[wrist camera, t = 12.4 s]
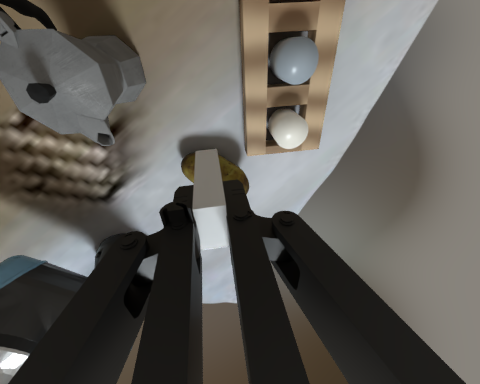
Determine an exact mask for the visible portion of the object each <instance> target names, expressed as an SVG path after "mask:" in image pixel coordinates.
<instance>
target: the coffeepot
mask: <svg viewBox="0 0 480 384" xmlns="http://www.w3.org/2000/svg"><path fill="white" fill-rule="evenodd" d="M0 4H3V5H6V6H8V7H11V8H13V9H14V10H16V11H17V12H19V13H20V14H23V15H25V16H29V17H35V18H36V19H37V20H38V21H40V22H41V23H42V24H43V25H44V26H45V27H46V28H47V29H27V30H21V28H20V27H19V26H18V25H17V24H16V23H15V22H14V21H13V19H12V18H11V17H10V16H9V15H8V14H7V13H6V12H5V11H4V10H3V9H2V8H1V7H0V41H1V44H0V80H1V82H2V83H3V85H4V86H5V88H6V90H7V91H8V93H9V95H10V96H11V98H12V99H13V101H14V103H15V104H16V106H17V108H18V109H19V111H21V112H23V113H24V114H26V115H28V116H30V117H31V118H33V119H35V120H37V121H39V122H40V123H42V124H44V125H46V126H47V127H49V128H51V129H53V130H54V131H56V132H58V133H60V134H73V133H82V134H83V135H85V136H87V137H88V138H90V139H91V140H93V141H95V142H96V143H97V142H98V143H99V144H101V145H103V146H110V145H112V144H114V143H115V141H114V137H113V135H112V133H111V131H110V126H109V120H108V115H109V114H110V112H111V111H112V109H113V107H114V106H115V104H119V103H125V102H131V101H135V100H136V98H137V97H138V95H139V94H140V92H141V90H142V89H143V87H144V86H145V84H146V81H145V77H144V71H143V68H142V65H141V61H140V57H139V56H138V55H137V54H136V53H135V52H134V51H133V50H132V49H131V48H130V47H128V46H127V45H126V44H125V43H123V42H122V41H121V40H120V39H119V38H117V37H116V36H115V35H113V36H88V37H86V38H84V39H82V40H80V39H78V38H75V37H72V36H70V35H67V34H64V33H62V32H59V31H57V29H56V27H55V26H54V24H53V23H52V21H51V20H50V18H49V16H48V15H47V14H46V13H45V12H44V11H43V10H42V9H41V8H39V7H37V6H36V5H34V4H32V3H31V2H29V1H28V0H0Z"/></svg>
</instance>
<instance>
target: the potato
mask: <svg viewBox="0 0 480 384" xmlns="http://www.w3.org/2000/svg"><path fill="white" fill-rule="evenodd" d="M218 158H219V164H220V171H221V177H222V181H228V180H237V179H238V180H239V181H240V182H242V183H243V186H244V189H245V193H246V194H247V192H248V190H249V182H248V179H247V177H246V175H245V173H244V172H243V171H242V170H241V169H240V167H238V166H236V165H235V164H233V163H232V162H230V161H228V160H226V159H225V158H224V157H222V156H220V155H218ZM181 168H182V172H183V173H184V175H185V176H186V177H187V178H188V179H189V180H190V181H192V182H193V183H194V171H195V153H191V154H188V155H186V156H185V157H184V159H183V160H182V163H181Z"/></svg>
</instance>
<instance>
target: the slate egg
mask: <svg viewBox="0 0 480 384" xmlns="http://www.w3.org/2000/svg"><path fill="white" fill-rule="evenodd" d="M318 58H319V54H318V49H317V46H316V44H315V43H314V42H313V41H312V40H311V39H310V38H307V37H289V38H284V39H282V40H280V41H279V42H278V43H277V44H276V45H275V46H274V48H273V50H272V52H271V55H270V68H271V71H272V73H273V74H274V75H275V76H276V77H277V78H279V79H281V80H283V81H285V82H287V83H289V84H293V85H298V84H302V83H304V82H305V81H307V80H308V79H309V78H310V77H311V76H312V75H313V73H314V72H315V70H316V67H317V64H318Z"/></svg>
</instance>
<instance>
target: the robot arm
mask: <svg viewBox="0 0 480 384" xmlns="http://www.w3.org/2000/svg"><path fill="white" fill-rule="evenodd" d="M159 213H160V216H161V219H162V222H163V225H164V228H163V229H162V230H160V231H159V232H156V233H154V234H151V235H149V236H145V234H143V233H142V232H138V231H136V232H130V233H127V234H120V235H115V236H112V237H109V238H107V239H106V240H104V241H103V242H102V243H101V245H100V247H99V249H98V250H97V253H96V256H95V268H94V270H93V271H92V273H91V274H90V275H89V277H86V276H83V275H80V274H77V273H75V272H72V271H69V270H67V269H64V268H61V267H58V266H56V265H53V264H50V263H48V261H41V260H37V259H34V258H31V257H28V256H24V255H17V256H12V257H10V258H7V259H6V260H4V261H3V262H1V263H0V384H116V383H117V381H118V379H119V376H120V374H121V372H122V369H123V367H124V365H125V362H126V360H127V358H128V355H129V353H130V351H131V349H132V346H133V344H134V341H135V339H136V337H137V334H138V332H139V330H140V328H141V325H142V323H143V321H144V325H143V330H142V335H141V340H140V345H139V349H138V354H137V360H136V364H135V369H134V374H133V379H132V383H131V384H203V356H202V355H203V353H202V350H203V348H202V258H201V253H200V247H201V251H202V250H208V249H215V248H222V247H229V246H230V253H231V263H232V268H233V275H234V282H235V289H236V296H237V303H238V310H239V318H240V325H241V331H242V339H243V346H244V353H245V360H246V366H247V374H248V381H249V384H309V381H308V378H307V374H306V371H305V368H304V365H303V362H302V359H301V356H300V353H299V350H298V346H297V343H296V340H295V337H294V334H293V331H292V328H291V325H290V322H289V319H288V316H287V312H286V310H285V306H284V303H283V300H282V297H281V294H280V291H279V288H278V285H277V281H276V278H275V275H274V272H273V269H272V266H271V263H272V264H273V266H274V268H275V269H276V270H277V272H278V274H279V275H280V277H281V279H282V280H283V282H284V283H285V284H286V286H287V288H288V289H289V291H290V293H291V294H292V295H293V297H294V299H295V300H296V302H297V303H298V305H299V306H300V308H301V310H302V311H303V313H304V314H305V316H306V317H307V319H308V320H309V322H310V324H311V325H312V327H313V328H314V330H315V331H316V333H317V335H318V336H319V338H320V339H321V341H322V342H323V344H324V345H325V347H326V349H327V350H328V352H329V353H330V355H331V356H332V358H333V360H334V361H335V363H336V364H337V366H338V367H339V369H340V370H341V372H342V373H343V375H344V377H345V378H346V380H347V381H348V383H349V384H466V383H465V382H464V381H463V380H462V379H461V378H460V377H459V376H458V375H457V374H456V373H455V372H454V371H453V370H452V369H451V368H450V367H449V366H448V365H447V364H446V363H445V362H444V361H443V360H442V359H441V358H440V357H439V356H438V355H437V354H436V353H435V352H434V351H433V350H432V349H431V348H430V347H429V346H428V345H427V344H426V343H425V342H424V341H423V340H422V339H421V338H420V337H419V336H418V335H417V334H416V333H415V332H414V331H413V330H412V329H411V328H410V327H409V326H408V325H407V324H406V323H405V322H404V321H403V320H402V319H401V318H400V317H399V316H398V315H397V314H396V313H395V312H394V311H393V310H392V309H391V308H390V307H389V306H388V305H387V304H386V303H385V302H384V301H383V300H382V299H381V298H380V297H379V296H378V295H377V294H376V293H375V292H374V291H373V290H372V289H371V288H370V287H369V286H368V285H367V284H366V283H365V282H364V281H363V280H362V279H361V278H360V277H359V276H358V275H357V274H356V273H355V272H354V271H353V270H352V269H351V268H350V267H349V266H348V265H347V264H346V263H345V262H344V261H343V260H342V259H341V258H340V257H339V256H338V255H337V254H336V253H335V252H334V251H333V250H332V249H331V248H330V247H329V246H328V245H327V244H326V243H325V242H324V241H323V240H322V239H321V238H320V237H319V236H318V235H317V234H316V233H315V232H314V231H313V230H312V229H311V228H310V227H309V226H308V225H307V224H306V222H304V221H303V220H302V218H300V217H299V216H298V215H297V214H295V213H293V212H290V211H280V212H277V213H275V214H274V215H273V217H272V218H265V217H260V216H258V215H256V214H254V212H253V211H252V210H251V209H250V205H249V202H248V199H247V196H246V193H245V189H244V186H243V183H242V182H240V181H239V180H238V179H237V180H228V181H222V177H221V171H220V164H219V158H218V152H217V149H210V150H200V151H196V152H195V171H194V185H190V186H181V187H179V188H178V189H177V190H176V191H175V194H174V200H173V202H171V203H169V204H167V205H165V206H164V207H162V208H161V210H160V212H159ZM270 261H271V263H270ZM144 318H145V320H144Z"/></svg>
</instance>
